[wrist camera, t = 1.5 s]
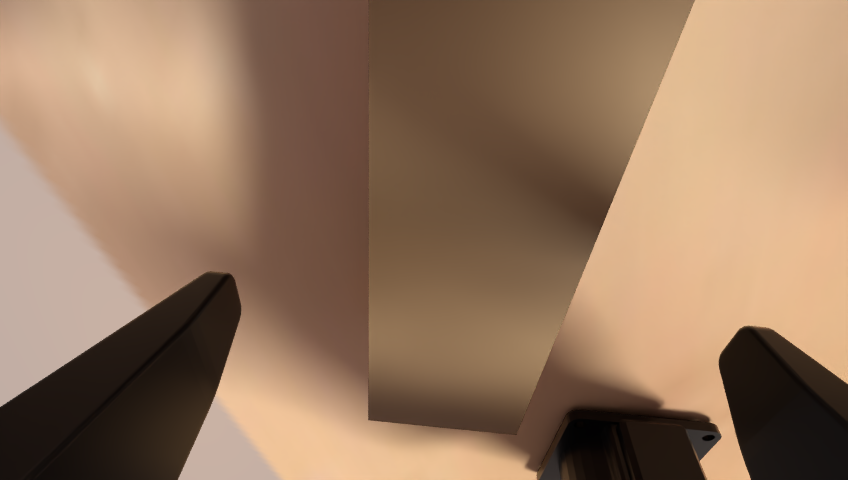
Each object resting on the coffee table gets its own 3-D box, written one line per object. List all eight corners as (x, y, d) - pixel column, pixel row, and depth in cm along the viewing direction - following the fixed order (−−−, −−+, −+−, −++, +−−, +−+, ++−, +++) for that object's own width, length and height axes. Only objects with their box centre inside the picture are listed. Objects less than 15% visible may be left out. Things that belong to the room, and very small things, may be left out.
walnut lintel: (506, 331, 17) (516, 435, 14) (385, 319, 17) (368, 420, 14) (657, -179, 8) (778, -206, 5) (404, -205, 8) (369, -247, 5)
